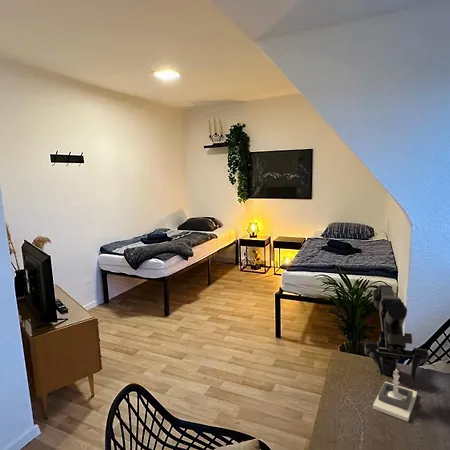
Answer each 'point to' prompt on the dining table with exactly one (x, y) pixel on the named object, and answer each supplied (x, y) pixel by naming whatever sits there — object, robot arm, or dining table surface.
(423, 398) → the dining table surface
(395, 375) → the chess piece
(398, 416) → the board
